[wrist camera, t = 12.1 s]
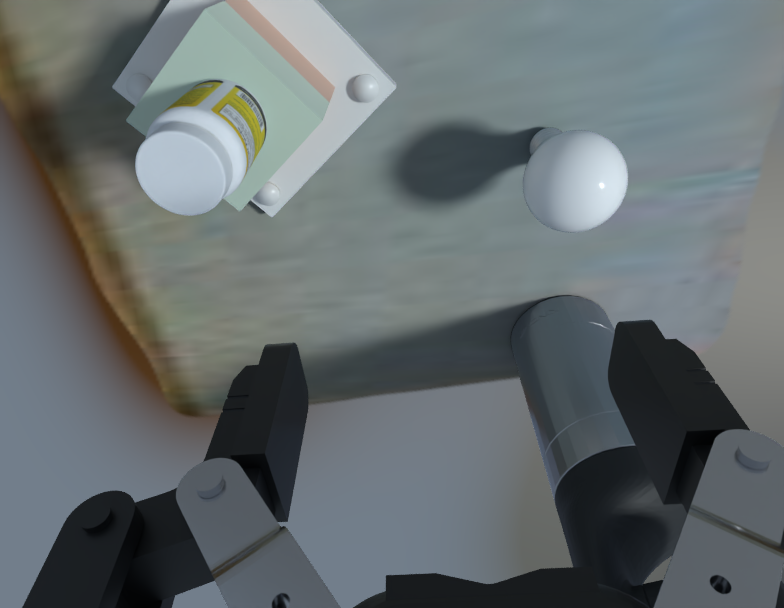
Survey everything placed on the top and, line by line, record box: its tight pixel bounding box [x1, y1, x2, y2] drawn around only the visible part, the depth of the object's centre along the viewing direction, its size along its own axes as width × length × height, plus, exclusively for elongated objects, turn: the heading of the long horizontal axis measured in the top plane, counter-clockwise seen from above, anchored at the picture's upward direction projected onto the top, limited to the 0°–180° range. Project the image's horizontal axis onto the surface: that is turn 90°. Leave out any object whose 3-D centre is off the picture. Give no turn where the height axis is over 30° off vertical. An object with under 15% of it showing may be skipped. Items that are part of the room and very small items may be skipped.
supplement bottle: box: [135, 79, 267, 215], centre depth 28 cm, size 5×5×8 cm
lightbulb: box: [523, 128, 628, 233], centre depth 36 cm, size 6×6×11 cm
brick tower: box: [112, 0, 396, 217], centre depth 35 cm, size 14×14×9 cm
